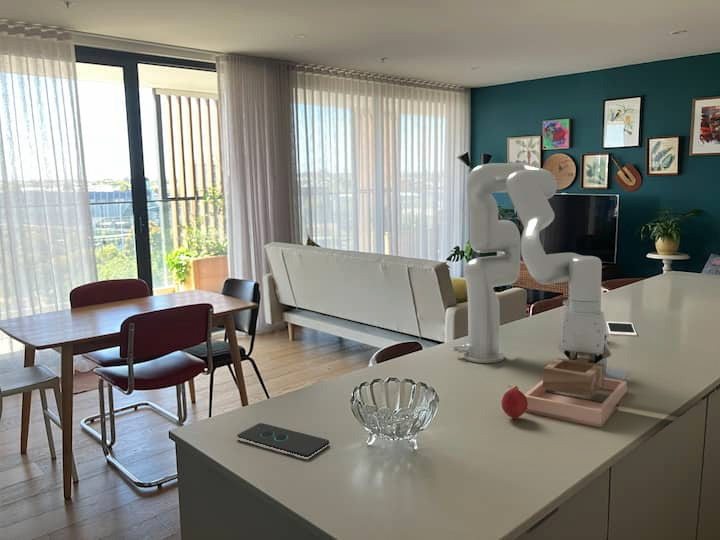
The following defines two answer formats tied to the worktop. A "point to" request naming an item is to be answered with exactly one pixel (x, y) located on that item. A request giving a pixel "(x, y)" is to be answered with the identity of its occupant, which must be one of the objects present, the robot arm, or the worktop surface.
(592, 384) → the wooden bar frame
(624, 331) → the cell phone
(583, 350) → the robot arm
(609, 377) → the stand
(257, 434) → the slab with cyan rings
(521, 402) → the onion
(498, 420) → the worktop surface
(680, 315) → the worktop surface
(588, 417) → the tray
